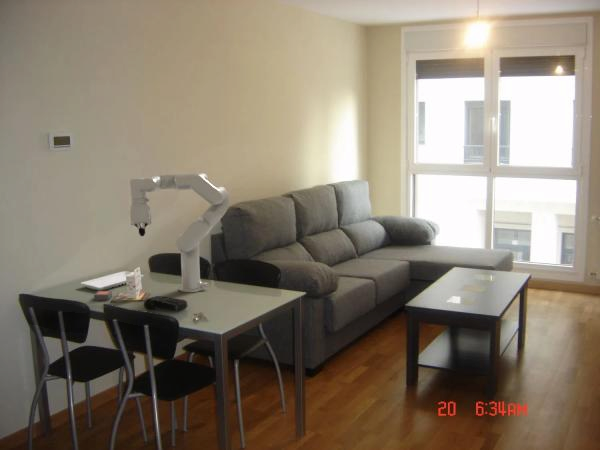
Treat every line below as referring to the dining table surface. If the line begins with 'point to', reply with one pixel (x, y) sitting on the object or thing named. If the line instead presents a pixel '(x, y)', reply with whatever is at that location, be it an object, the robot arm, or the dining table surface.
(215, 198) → the robot arm
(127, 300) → the picture board
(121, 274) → the tray
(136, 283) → the ink cartridge box
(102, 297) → the button base
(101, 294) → the button
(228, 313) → the dining table surface
